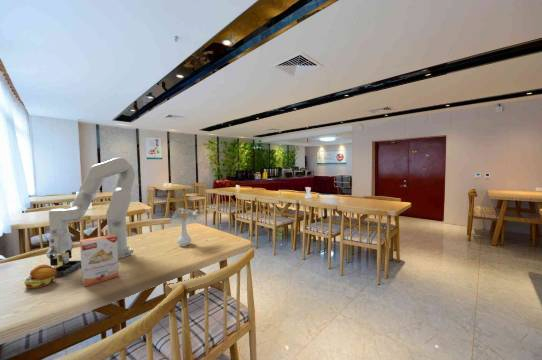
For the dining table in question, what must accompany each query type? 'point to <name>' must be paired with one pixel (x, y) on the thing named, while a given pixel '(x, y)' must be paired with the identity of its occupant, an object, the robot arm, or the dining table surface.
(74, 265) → the tray
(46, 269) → the cheeseburger
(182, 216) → the flower vase
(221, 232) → the dining table surface
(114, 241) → the cracker box
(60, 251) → the robot arm
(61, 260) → the gold block
